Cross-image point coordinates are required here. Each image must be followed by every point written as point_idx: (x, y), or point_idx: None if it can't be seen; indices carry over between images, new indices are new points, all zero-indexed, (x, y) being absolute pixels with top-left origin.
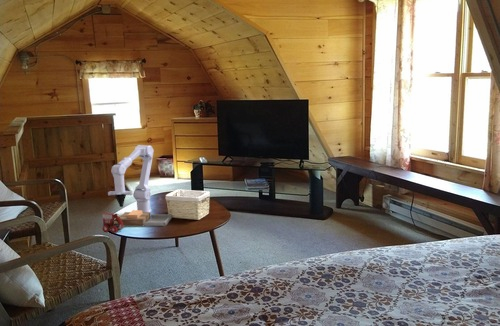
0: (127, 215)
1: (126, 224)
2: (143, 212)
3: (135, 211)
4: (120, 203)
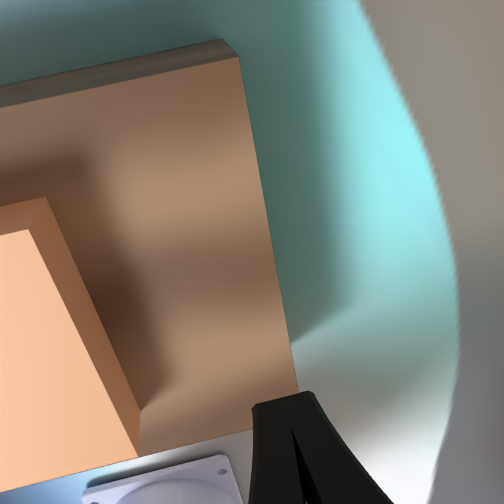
0: (168, 318)
1: (38, 82)
2: None
3: (39, 432)
4: (312, 488)
